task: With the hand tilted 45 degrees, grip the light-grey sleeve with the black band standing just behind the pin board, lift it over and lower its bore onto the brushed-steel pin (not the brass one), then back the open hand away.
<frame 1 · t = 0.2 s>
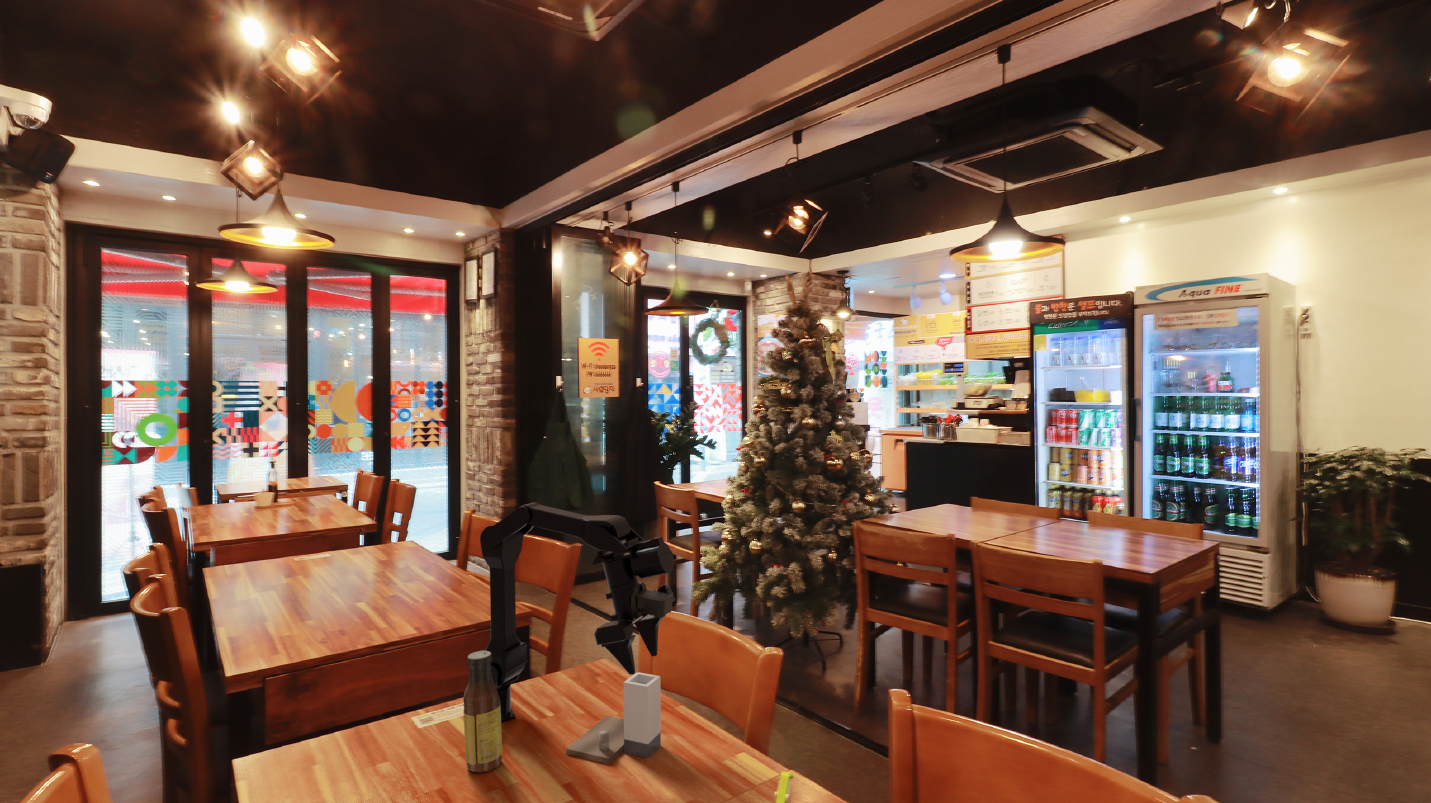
hand: (644, 664, 129), 15 cm above the table, tool tilted 15°, fingers open, 9 cm apart
grey sleeve: (642, 748, 128), on the table
sauce bottle: (483, 766, 123), on the table
pin board: (607, 741, 131), on the table
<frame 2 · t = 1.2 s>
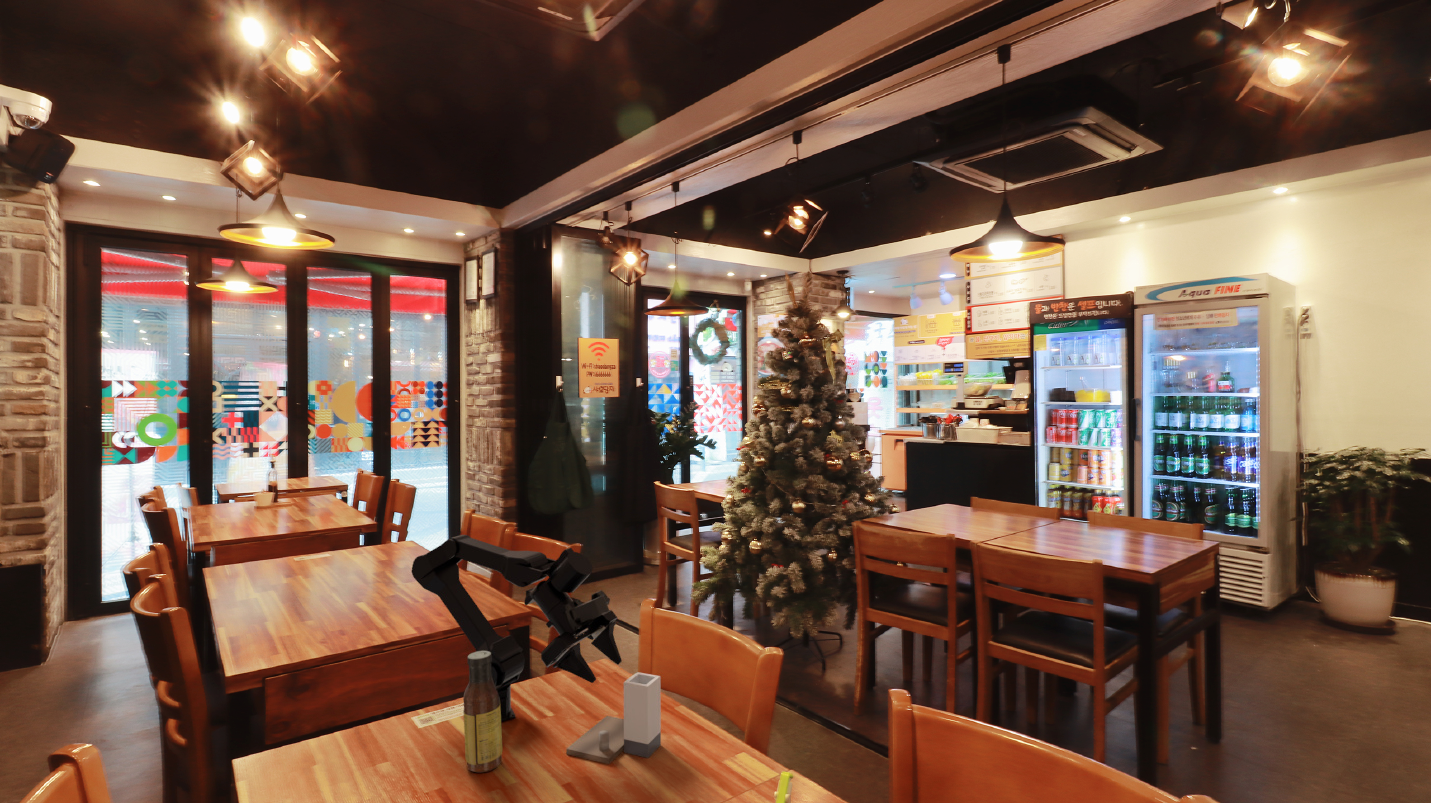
hand: (607, 671, 131), 13 cm above the table, tool tilted 45°, fingers open, 9 cm apart
nothing on the table moved.
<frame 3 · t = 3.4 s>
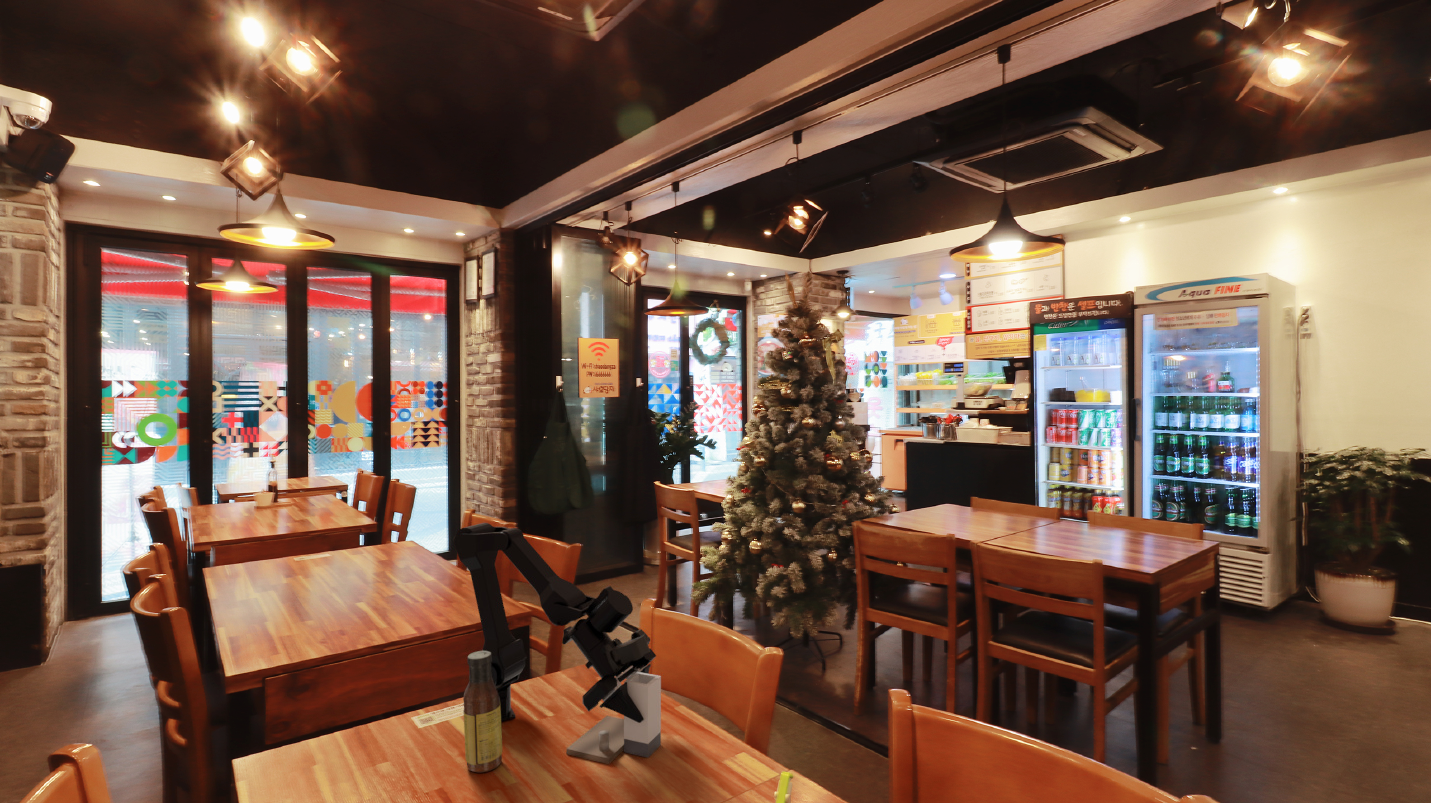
hand: (649, 714, 128), 7 cm above the table, tool tilted 45°, fingers closed on grey sleeve, 5 cm apart
grey sleeve: (642, 748, 128), on the table, touching gripper
everything else where it was.
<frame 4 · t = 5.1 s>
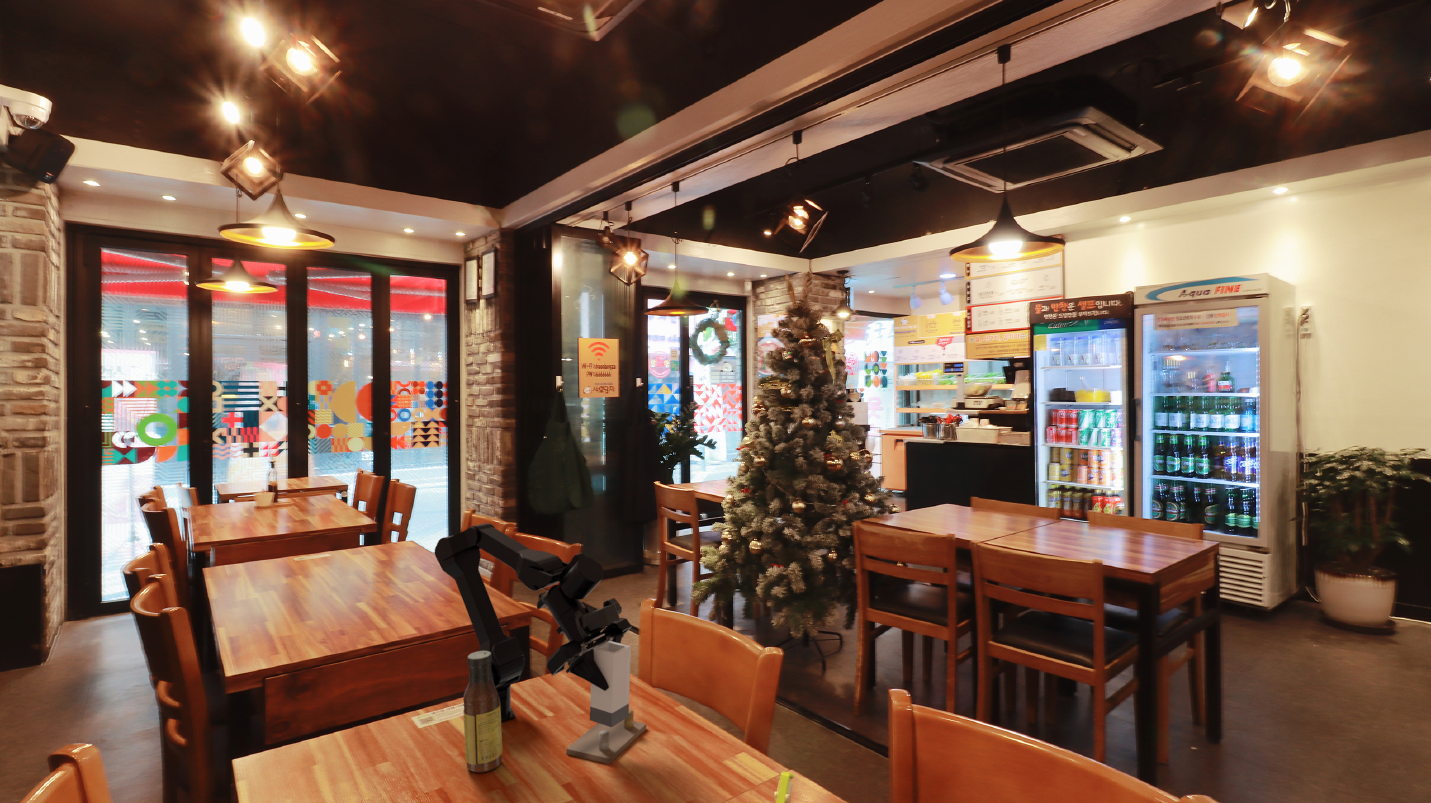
hand: (616, 683, 126), 13 cm above the table, tool tilted 45°, fingers closed on grey sleeve, 5 cm apart
grey sleeve: (609, 718, 127), point 7 cm above the table, touching gripper
everything else where it was.
when the fingers open (8 cm above the table, at t = 6.8 s): grey sleeve stays where it is, resting on pin board.
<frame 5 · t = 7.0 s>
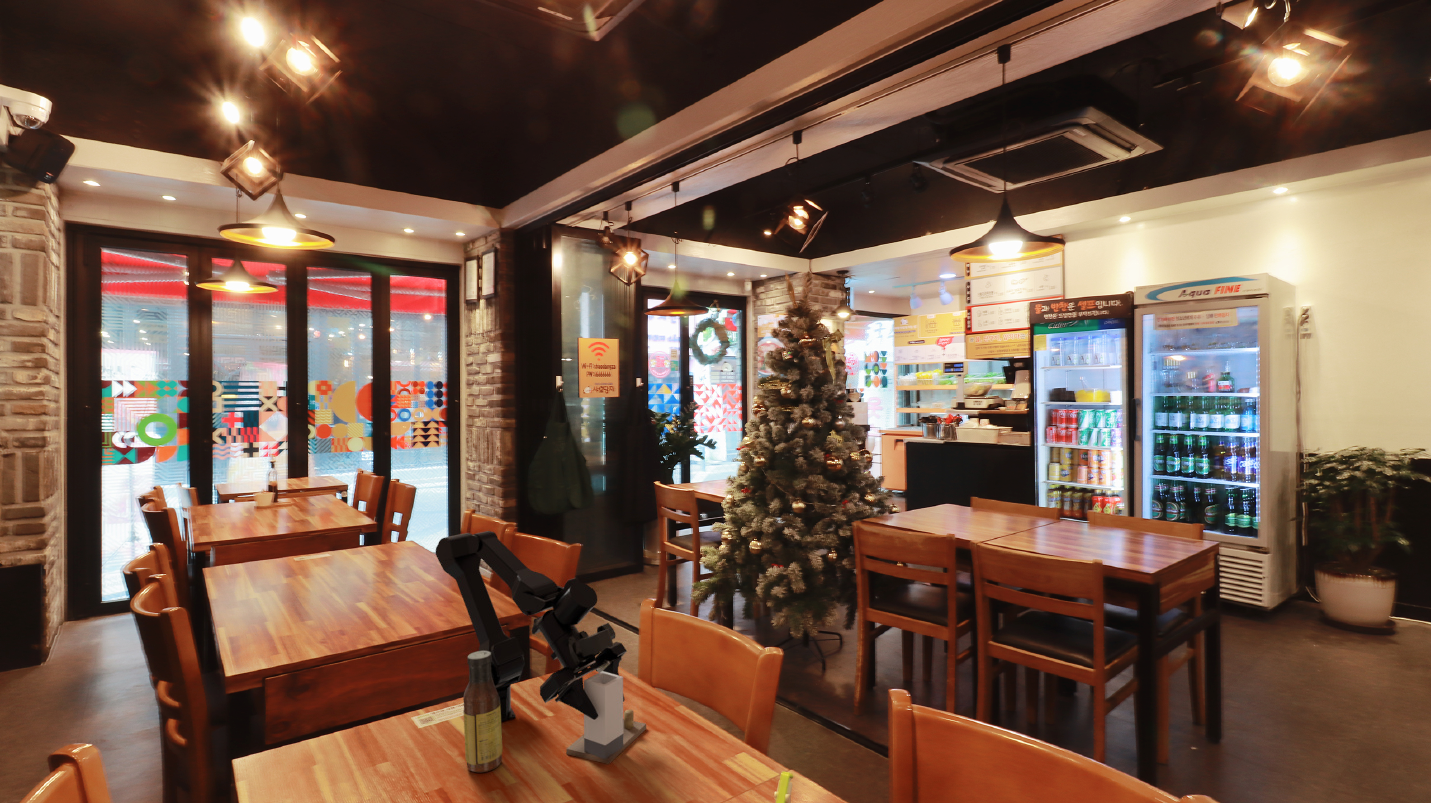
hand: (610, 710, 126), 9 cm above the table, tool tilted 45°, fingers open, 7 cm apart
grey sleeve: (603, 749, 126), point 1 cm above the table, touching pin board
everything else where it was.
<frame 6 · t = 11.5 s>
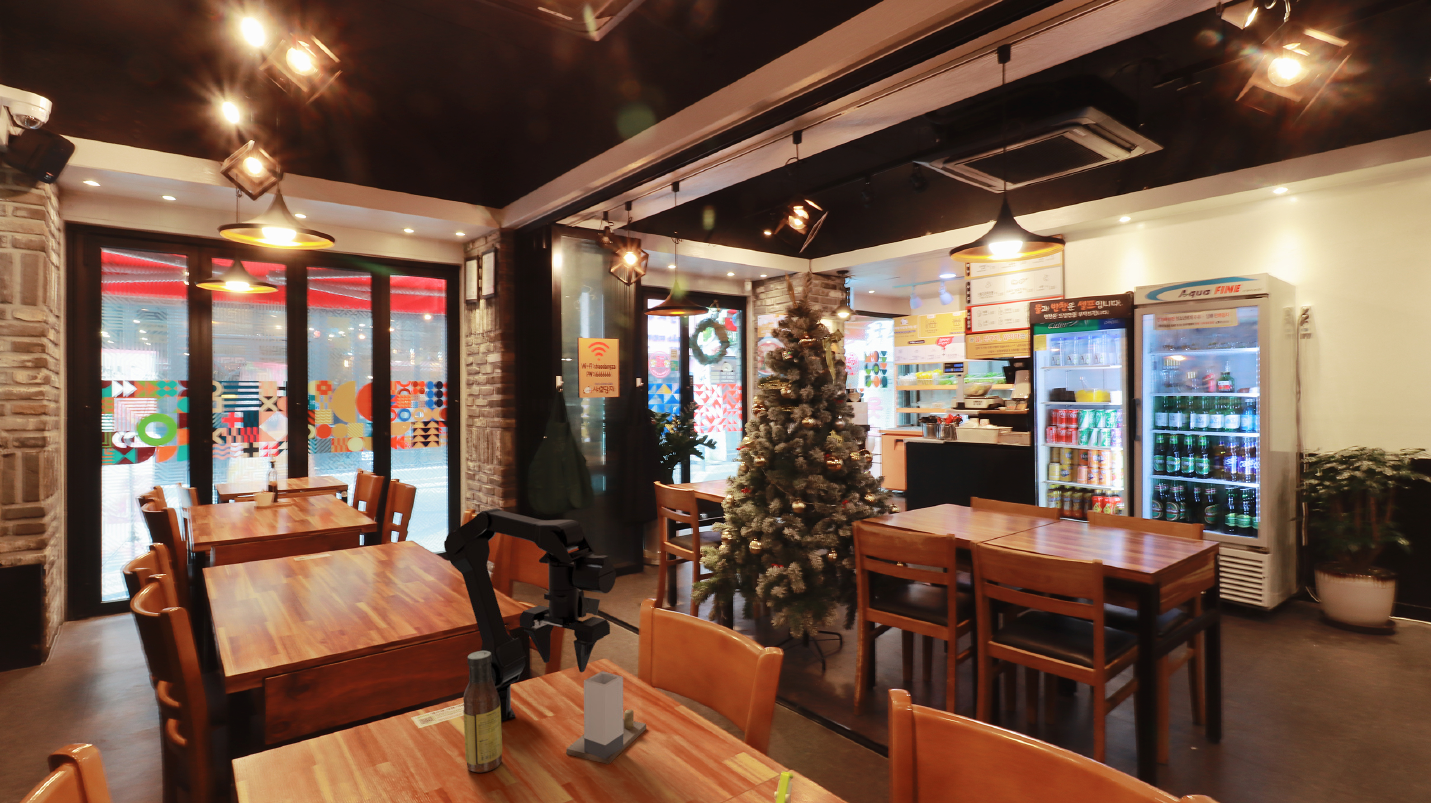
hand: (564, 666, 134), 13 cm above the table, tool pointing down, fingers open, 9 cm apart
nothing on the table moved.
at the end: grey sleeve 0.1 cm from the target spot, point 1.0 cm above the table; grey sleeve tilted 0°; the gripper is holding nothing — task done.
